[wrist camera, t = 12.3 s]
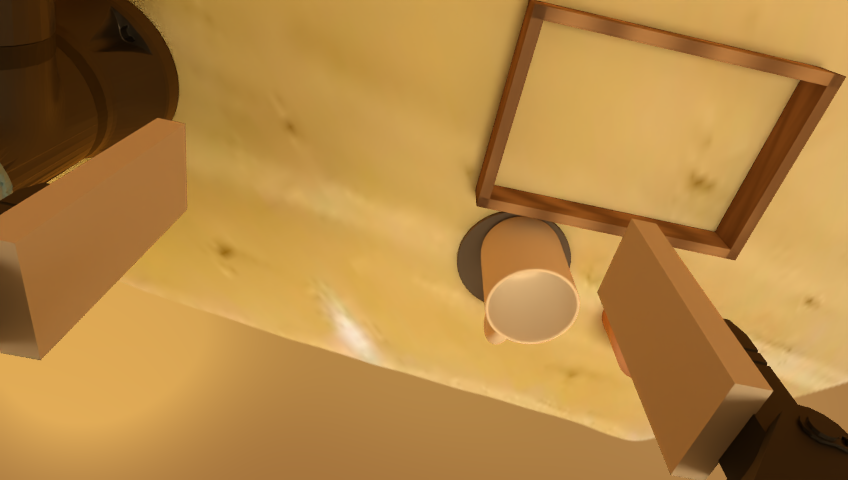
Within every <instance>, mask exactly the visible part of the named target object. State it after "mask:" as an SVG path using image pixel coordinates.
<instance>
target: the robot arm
mask: <svg viewBox="0 0 848 480" xmlns="http://www.w3.org/2000/svg"><path fill="white" fill-rule="evenodd" d="M177 102H178V78H177V73H176V68H175V65H174V62H173V59H172V56H171V54H170V52H169V49H168V47H167V45H166V44H165V42H164V40H163V38H162V37H161V35H160V34H159V32H158V31H157V29H156V28H155V27H154V25H153V24H152V23H151V22H150V21H149V19H148V18H147V17H146V16H145V15H144V14H143V13H142V12H141V11H140V10H139V9H137V8H136V7H135V6H134V5H133V4H131V3H130V2H129V1H128V0H0V352H1V353H4V354H9V355H15V356H20V357H26V358H31V359H37V360H41V359H42V358H43V357H44V356H45V355H46V354H47V353H48V352H49V351H50V350H51V349H52V348H53V347H54V346H55V345H56V344H57V343H58V342H59V341H60V340H61V339H62V338H63V337H64V336H65V335H66V333H67V332H68V331H69V330H70V329H71V328H72V327H73V326H74V325H75V324H76V323H77V322H78V321H79V320H80V319H81V318H82V317H83V316H84V315H85V314H86V313H87V312H88V311H89V310H90V309H91V308H92V307H93V306H94V304H96V303H97V302H98V300H100V299H101V297H102V296H103V295H104V294H105V293H106V292H107V291H108V290H109V289H110V288H111V287H112V286H113V285H114V284H115V283H116V282H117V281H118V280H119V279H120V278H121V277H122V276H123V275H124V274H125V273H126V272H127V271H128V270H129V269H130V268H131V267H132V266H133V265H134V264H135V263H136V261H137V260H138V259H139V258H140V257H141V256H142V255H143V254H144V253H145V252H146V251H147V250H148V249H149V248H150V247H151V246H152V245H153V244H154V243H155V242H156V241H157V240H158V239H159V238H160V237H161V236H162V235H163V234H164V233H165V232H166V231H167V230H168V229H169V228H170V226H171V225H172V224H173V223H174V222H175V221H176V220H177V219H178V218H179V217H180V216H181V215H182V214H183V213H184V212H185V211H186V210H187V180H186V139H185V124H184V123H180V122H175V121H171V120H172V118H173V116H174V114H175V111H176V107H177ZM84 158H92V159H90V160H89V161H87V162H85V163H84V164H82V165H80V166H79V167H77V168H76V169H74V170H72V171H71V172H69V173H67V174H66V175H64V176H63V177H61V178H59V179H58V180H56V181H54V182H53V183H51V184H47V182H48V181H50V180H51V179H53V178H55V177H56V176H58V175H59V174H61V173H62V172H64V171H65V170H67V169H69V168H70V167H72V166H73V165H75V164H76V163H78V162H79V161H81V160H83V159H84ZM597 293H598V295H599V298H600V300H601V303H602V305H603V308H604V310H605V313H606V315H607V318H608V320H609V323H610V325H611V328H612V330H613V333H614V335H615V338H616V340H617V343H618V345H619V348H620V350H621V353H622V355H623V358H624V360H625V363H626V365H627V368H628V370H629V373H630V375H631V378H632V380H633V383H634V385H635V388H636V390H637V393H638V395H639V398H640V400H641V403H642V405H643V407H644V410H645V412H646V415H647V417H648V420H649V422H650V425H651V427H652V430H653V432H654V435H655V437H656V440H657V442H658V445H659V447H660V450H661V452H662V455H663V457H664V460H665V462H666V465H667V467H668V470H669V472H670V475H673V476H679V477H684V478H690V479H695V480H706V479H707V477H708V476H709V475H710V473H711V472H712V471H713V470H714V468H715V467H716V466H717V464H718V463H720V465H721V467H722V469H723V471H724V473H725V475H726V477H727V480H848V434H847V433H846V432H845V431H844V430H843V429H842V428H841V427H840V426H839V425H838V424H836V423H835V422H833V421H832V420H831V419H829V418H828V417H826V416H825V415H823V414H821V413H819V412H817V411H815V410H813V409H811V408H808V407H804V406H800V405H798V404H797V403H796V402H795V400H794V399H793V398H792V396H791V395H790V393H789V392H788V391H787V389H786V388H785V387H784V385H783V384H782V383H781V381H780V380H779V378H778V377H777V376H776V374H775V373H774V372H773V370H772V369H771V367H770V366H767V362H766V361H765V359H764V358H763V357H762V355H761V354H760V353H758V350H757V348H756V347H755V346H754V344H753V343H752V342H751V340H750V339H749V337H748V336H747V335H746V334H745V333H744V332H743V331H741V330H740V329H739V328H738V327H737V326H736V325H734V324H733V323H732V322H731V321H730V320H727V319H723V318H722V317H721V315H720V314H719V313H718V311H717V310H716V308H715V307H714V305H713V304H712V303H711V301H710V300H709V298H708V297H707V295H706V294H705V293H704V291H703V290H702V288H701V287H700V285H699V284H698V283H697V281H696V280H695V278H694V277H693V275H692V274H691V273H690V271H689V270H688V268H687V267H686V265H685V264H684V263H683V261H682V260H681V258H680V257H679V255H678V254H677V253H676V251H675V250H674V248H673V247H672V245H671V244H670V243H669V241H668V240H667V238H666V237H665V235H664V234H663V233H662V231H661V230H660V228H659V227H658V225H657V224H656V223H651V222H646V221H642V220H637V219H632V218H631V221H630V223H629V225H628V227H627V229H626V231H625V234H624V236H623V238H622V240H621V242H620V244H619V247H618V249H617V251H616V253H615V255H614V257H613V259H612V262H611V264H610V266H609V268H608V270H607V272H606V275H605V277H604V279H603V281H602V283H601V285H600V288H599V290H598V292H597Z"/></svg>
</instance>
